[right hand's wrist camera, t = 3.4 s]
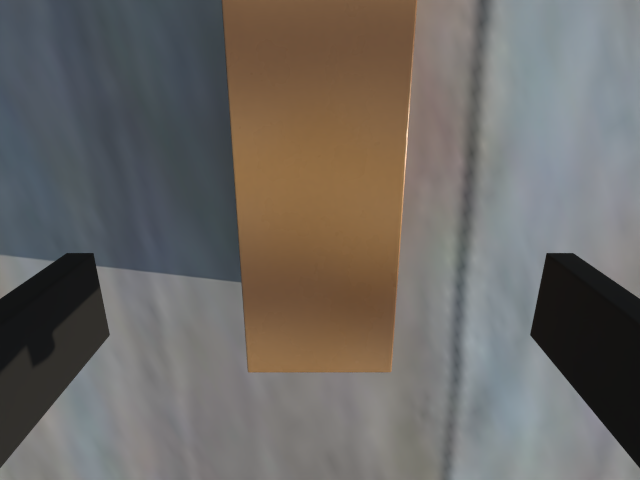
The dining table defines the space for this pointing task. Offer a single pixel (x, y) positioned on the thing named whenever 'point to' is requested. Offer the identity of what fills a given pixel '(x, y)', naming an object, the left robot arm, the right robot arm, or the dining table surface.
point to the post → (319, 176)
